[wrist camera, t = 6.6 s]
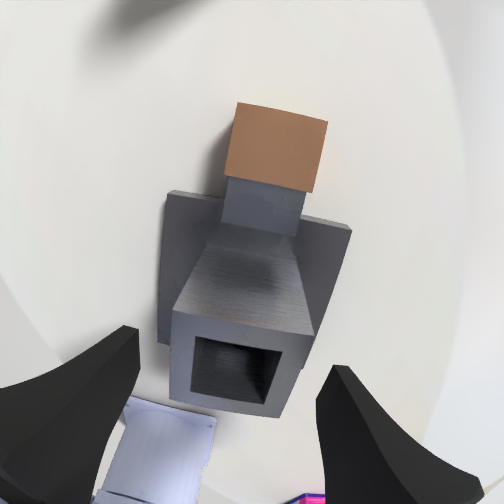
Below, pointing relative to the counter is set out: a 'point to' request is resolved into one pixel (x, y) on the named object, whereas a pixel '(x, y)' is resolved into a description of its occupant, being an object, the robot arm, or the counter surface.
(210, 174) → the counter surface
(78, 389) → the robot arm
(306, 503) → the supplement box
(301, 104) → the counter surface
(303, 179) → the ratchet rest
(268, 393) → the hollow square tube
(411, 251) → the counter surface
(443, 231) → the counter surface
